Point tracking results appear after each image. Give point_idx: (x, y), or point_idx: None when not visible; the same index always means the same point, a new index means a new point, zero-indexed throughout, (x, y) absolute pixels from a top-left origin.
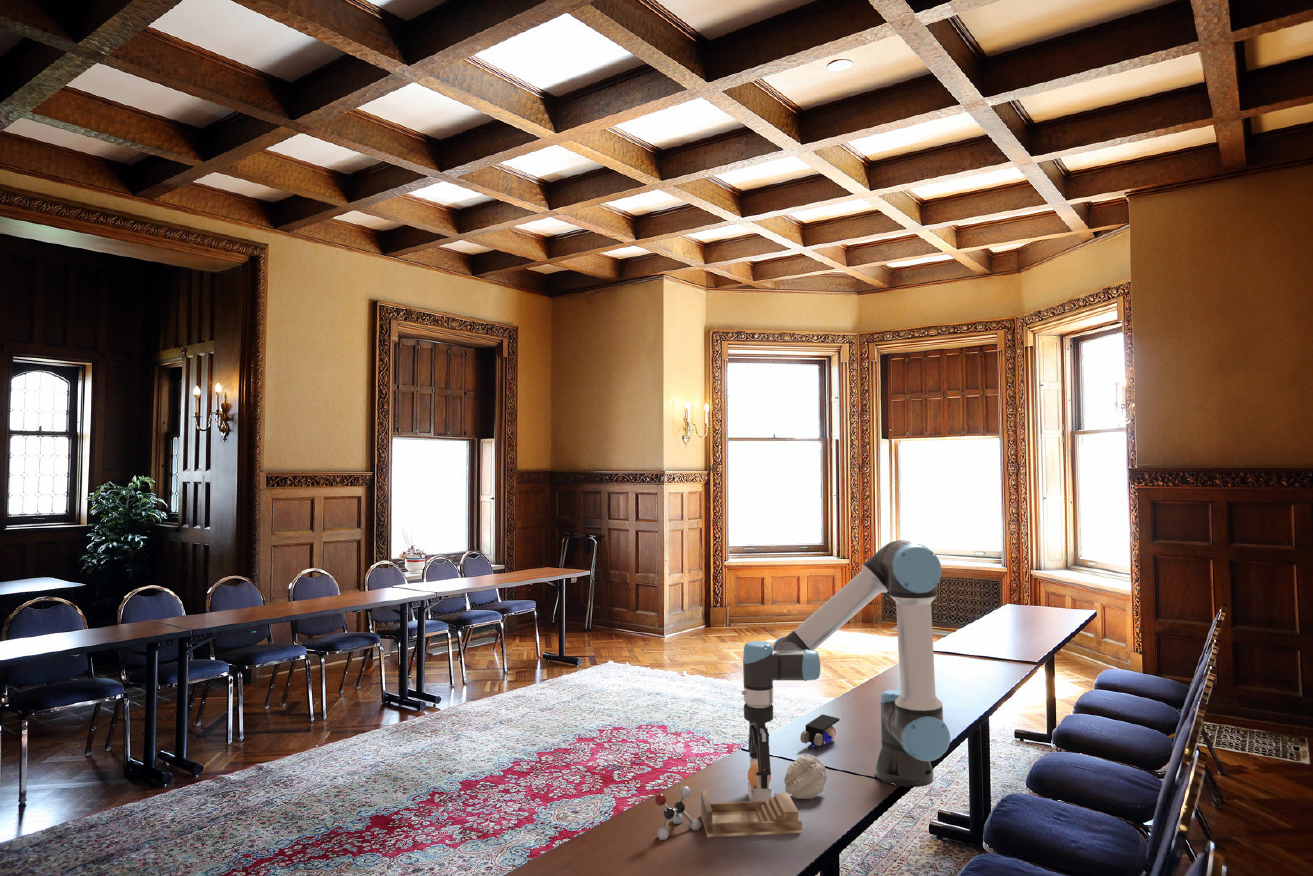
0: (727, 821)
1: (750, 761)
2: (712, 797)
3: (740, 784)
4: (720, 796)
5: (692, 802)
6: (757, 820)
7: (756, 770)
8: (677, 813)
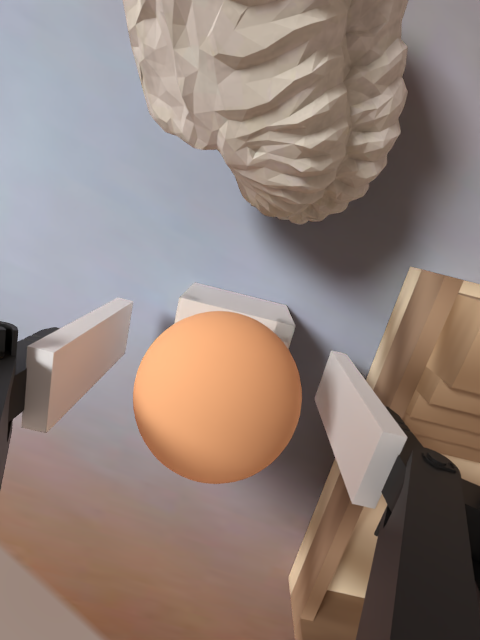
0: None
1: (52, 422)
2: (139, 491)
3: None
4: (137, 462)
5: (164, 562)
6: (460, 458)
7: (263, 468)
8: None
